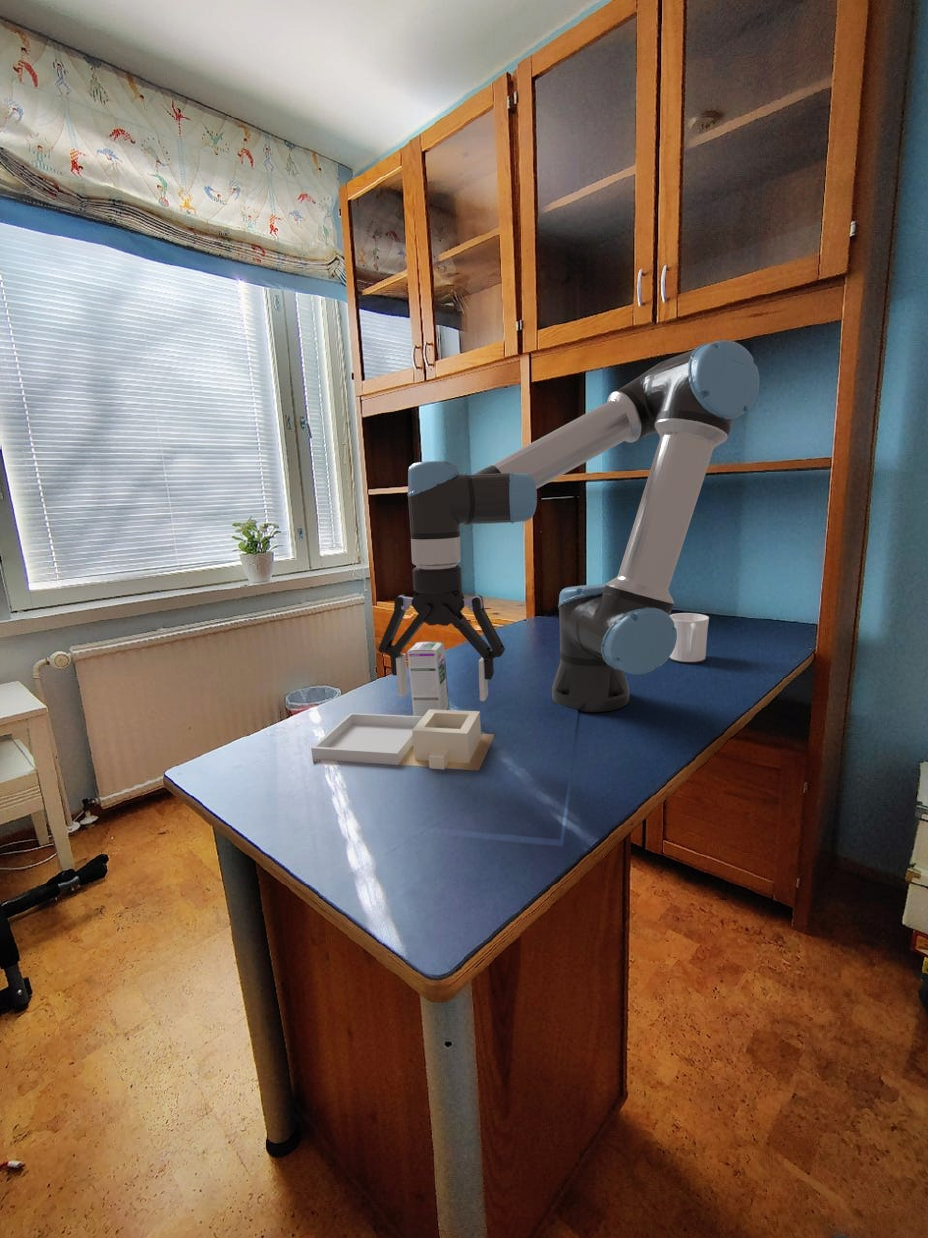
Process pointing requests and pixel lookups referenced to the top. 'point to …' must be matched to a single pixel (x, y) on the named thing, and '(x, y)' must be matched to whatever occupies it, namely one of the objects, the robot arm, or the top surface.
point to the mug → (690, 638)
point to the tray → (368, 739)
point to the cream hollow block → (446, 737)
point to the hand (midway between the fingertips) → (442, 696)
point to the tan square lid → (473, 764)
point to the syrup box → (428, 677)
